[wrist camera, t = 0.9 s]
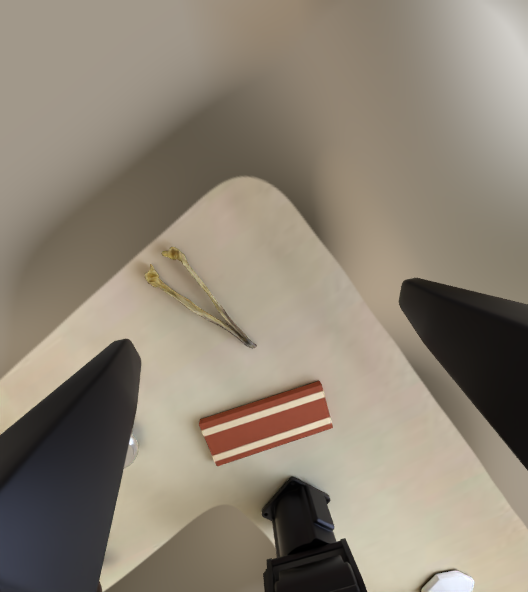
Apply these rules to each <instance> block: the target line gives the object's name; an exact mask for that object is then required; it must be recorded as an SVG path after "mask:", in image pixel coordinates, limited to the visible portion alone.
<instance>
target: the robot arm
mask: <svg viewBox="0 0 528 592" xmlns="http://www.w3.org/2000/svg"><path fill="white" fill-rule="evenodd" d="M399 305H400V308H401V309H402V311H403V312H404V314H405V315H406V317H407V318H408V320H409V321H410V323H411V324H412V326H413V328H414V329H415V331H416V332H417V334H418V335H419V337H420V338H421V340H422V341H423V343H424V344H425V345H426V346H427V348H428V349H429V350H430V352H431V353H432V354H433V355H434V356H435V358H436V359H437V360H438V361H439V363H440V364H441V365H442V366H443V367H444V368H445V370H446V371H447V372H448V374H449V375H450V376H451V377H452V378H453V380H454V381H455V382H456V383H457V384H458V385H459V387H460V388H461V389H462V391H463V392H464V393H465V394H466V396H467V397H468V398H469V399H470V400H471V402H472V403H473V404H474V405H475V407H476V408H477V409H478V410H479V411H480V413H481V414H482V415H483V416H484V418H485V419H486V420H487V421H488V422H489V424H490V425H491V426H492V427H493V429H494V430H495V431H496V432H497V433H498V434H499V436H500V437H501V438H502V440H503V441H504V442H505V443H506V444H507V445H508V447H509V448H510V449H511V451H512V452H513V453H514V454H515V455H516V457H517V458H518V459H519V460H520V462H521V463H522V464H523V465H524V466H525V468H526V469H527V470H528V304H523V303H519V302H515V301H511V300H507V299H503V298H499V297H494V296H490V295H486V294H482V293H478V292H474V291H469V290H466V289H461V288H457V287H453V286H449V285H445V284H440V283H437V282H432V281H428V280H424V279H420V278H413V279H407V280H405V281H403V283H402V286H401V292H400V297H399ZM140 372H141V358H140V356H139V354H138V352H137V351H136V349H135V347H134V345H133V344H132V342H131V341H130V340H129V339H122V340H117V341H114V342H113V343H111V344H110V345H109V346H108V347H107V348H105V349H104V350H103V351H102V352H100V353H99V354H98V355H97V356H96V357H94V358H93V359H92V360H91V361H90V362H88V363H87V364H86V365H85V366H83V367H82V368H81V369H80V370H79V371H77V372H76V373H75V374H74V375H73V376H71V377H70V378H69V379H68V380H66V381H65V382H64V383H63V384H62V385H60V386H59V387H58V388H57V389H56V390H54V391H53V392H52V393H51V394H50V395H48V396H47V397H46V398H45V399H43V400H42V401H41V402H40V403H39V404H37V405H36V406H35V407H34V408H33V409H31V410H30V411H29V412H28V413H26V414H25V415H24V416H23V417H22V418H20V419H19V420H18V421H17V422H16V423H14V424H13V425H12V426H11V427H10V428H8V429H7V430H6V431H5V432H3V433H2V434H1V435H0V592H97V588H98V583H99V579H100V574H101V569H102V565H103V560H104V556H105V551H106V547H107V542H108V538H109V533H110V528H111V524H112V519H113V515H114V510H115V506H116V501H117V497H118V492H119V487H120V483H121V478H122V474H123V469H124V465H125V460H126V456H127V451H128V446H129V442H130V437H131V433H132V428H133V424H134V419H135V414H136V409H137V402H138V392H139V382H140ZM329 502H330V498H329V495H327V494H325V493H324V492H322V491H320V490H318V489H316V488H314V487H312V486H310V485H308V484H306V483H304V482H302V481H301V480H299V479H297V478H295V477H291V478H289V480H288V481H287V482H286V483H285V484H284V485H283V486H282V488H281V489H280V490H279V491H278V492H277V493H276V495H275V496H274V497H273V498H272V499H271V500H270V501H269V503H268V504H267V505H266V506H265V507H264V508H263V510H262V516H263V517H264V518H267V519H269V520H271V521H272V524H273V531H274V539H275V547H276V554H277V558H275V559H267V569H266V571H265V572H264V573H263V577H264V588H265V592H367V590H366V587H365V584H364V581H363V579H362V576H361V574H360V572H359V569H358V567H357V565H356V562H355V560H354V558H353V555H352V553H351V551H350V548H349V546H348V544H347V541H346V539H345V538H344V539H340V541H338V542H336V539H335V536H334V533H333V529H334V524H333V521H332V518H331V515H330V512H329V509H328V506H327V504H328V503H329Z"/></svg>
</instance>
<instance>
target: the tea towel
mask: <svg viewBox="0 0 528 592" xmlns="http://www.w3.org/2000/svg"><path fill="white" fill-rule="evenodd" d="M199 426H200V428H201V432H202V434H203V436H204V438H205V440H206V442H207V445H208V447H209V449H210V452H211V454H212V457H213V460H214V462H215V463H216V466H220V465H223V464H226V463H229V462H232V461H235V460H238V459H241V458H244V457H247V456H250V455H253V454H256V453H259V452H262V451H265V450H268V449H271V448H274V447H277V446H280V445H283V444H286V443H289V442H292V441H295V440H298V439H301V438H304V437H307V436H310V435H313V434H316V433H319V432H322V431H325V430H328V429H331V428H333V426H332V422H331V418H330V415H329V411H328V407H327V403H326V399H325V395H324V391H323V388H322V384H321V383H320V381H317V382H314V383H311V384H308V385H305V386H302V387H299V388H296V389H293V390H289V391H286V392H283V393H280V394H277V395H274V396H271V397H268V398H265V399H262V400H259V401H256V402H253V403H249V404H246V405H243V406H240V407H237V408H234V409H231V410H228V411H225V412H222V413H219V414H216V415H213V416H209V417H206V418H203V419H200V422H199Z"/></svg>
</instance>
